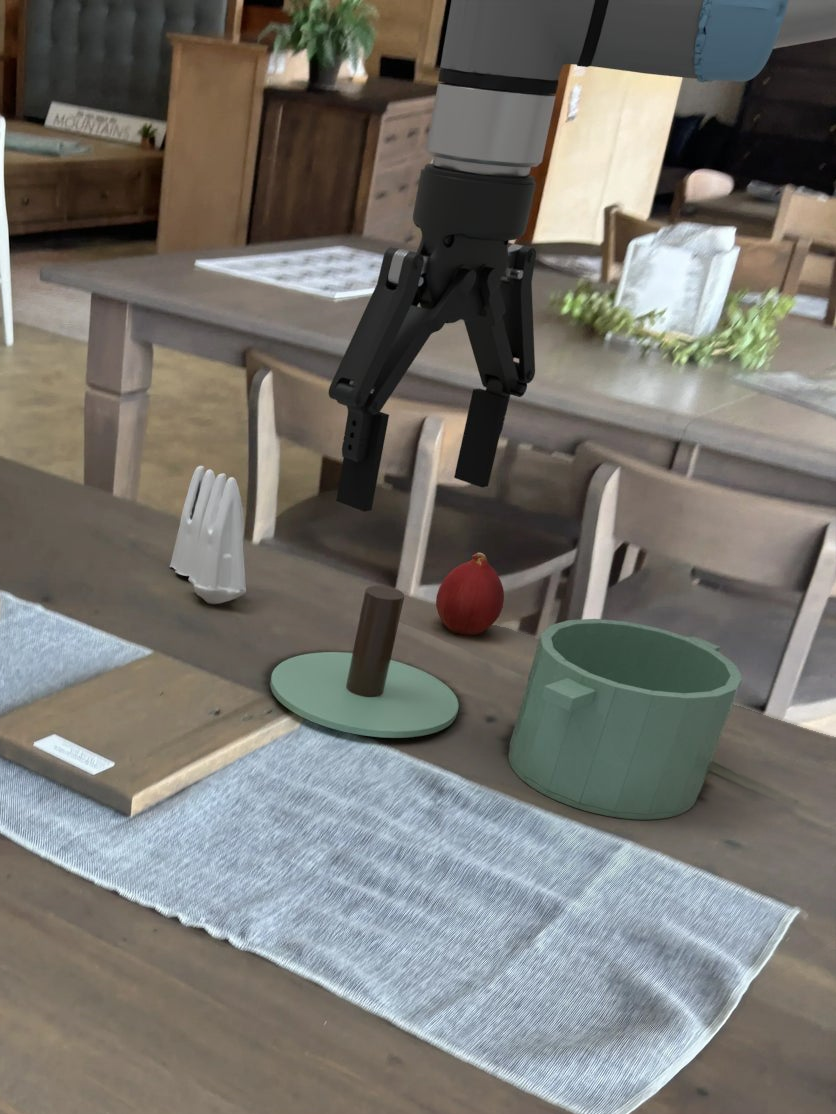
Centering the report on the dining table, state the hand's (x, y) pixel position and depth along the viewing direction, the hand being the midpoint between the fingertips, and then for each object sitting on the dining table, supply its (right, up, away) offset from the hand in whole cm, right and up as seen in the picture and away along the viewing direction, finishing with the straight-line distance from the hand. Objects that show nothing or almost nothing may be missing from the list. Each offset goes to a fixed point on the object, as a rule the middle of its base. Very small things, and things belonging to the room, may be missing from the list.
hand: (414, 494), depth 104 cm
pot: (+15, -20, +2) cm, 25 cm away
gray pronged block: (-14, 0, +27) cm, 31 cm away
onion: (+9, -6, +23) cm, 25 cm away
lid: (-2, -13, +9) cm, 16 cm away
